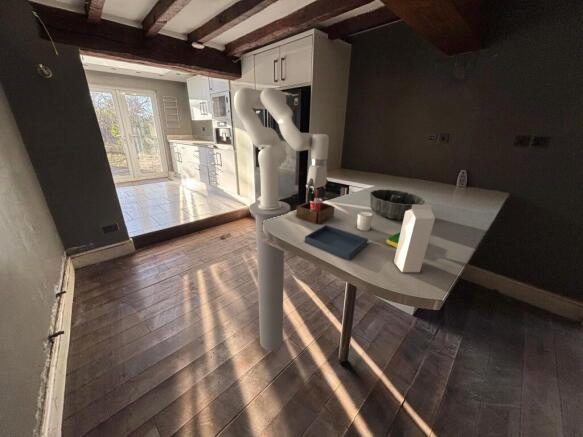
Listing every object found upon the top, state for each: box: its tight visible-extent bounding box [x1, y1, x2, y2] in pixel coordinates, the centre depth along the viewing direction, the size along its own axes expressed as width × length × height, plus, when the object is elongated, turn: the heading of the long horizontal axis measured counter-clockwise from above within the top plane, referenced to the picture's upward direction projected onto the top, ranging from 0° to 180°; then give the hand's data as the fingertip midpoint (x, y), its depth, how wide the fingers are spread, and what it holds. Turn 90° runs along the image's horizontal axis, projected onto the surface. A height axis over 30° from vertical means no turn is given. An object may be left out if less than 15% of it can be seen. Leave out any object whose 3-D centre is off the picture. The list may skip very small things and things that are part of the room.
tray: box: [304, 224, 369, 261], centre depth 91 cm, size 19×15×2 cm
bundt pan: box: [369, 189, 426, 221], centre depth 121 cm, size 26×26×10 cm
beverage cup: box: [310, 189, 323, 212], centre depth 114 cm, size 6×6×14 cm
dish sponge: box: [386, 231, 401, 249], centre depth 93 cm, size 7×14×2 cm, turn 128°
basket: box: [295, 200, 336, 225], centre depth 116 cm, size 14×14×6 cm
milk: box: [393, 204, 436, 273], centre depth 73 cm, size 6×6×22 cm
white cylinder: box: [356, 210, 375, 232], centre depth 104 cm, size 7×7×7 cm
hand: (316, 198), depth 113 cm, fingers open, 8 cm apart
